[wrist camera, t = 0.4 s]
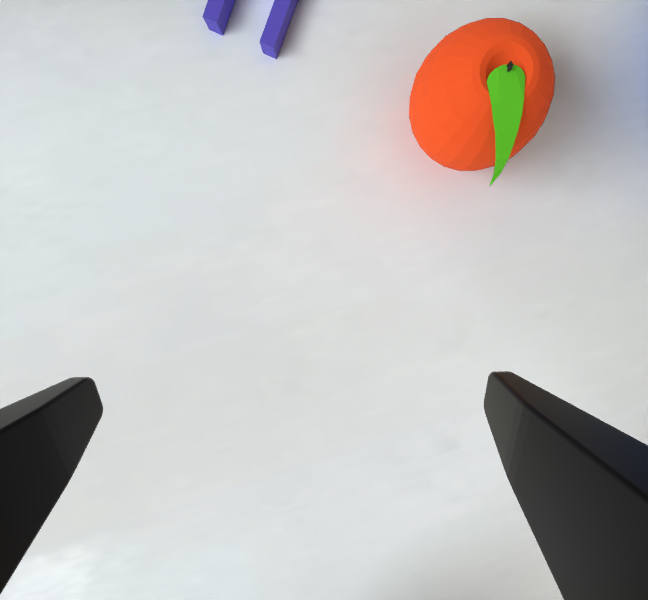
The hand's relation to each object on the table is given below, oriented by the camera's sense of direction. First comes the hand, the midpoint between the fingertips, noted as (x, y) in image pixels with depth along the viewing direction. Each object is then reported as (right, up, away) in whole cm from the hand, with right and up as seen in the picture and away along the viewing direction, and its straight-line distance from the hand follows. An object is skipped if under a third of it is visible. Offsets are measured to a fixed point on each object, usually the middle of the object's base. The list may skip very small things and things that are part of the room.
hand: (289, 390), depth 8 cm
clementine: (+9, +12, +15) cm, 21 cm away
